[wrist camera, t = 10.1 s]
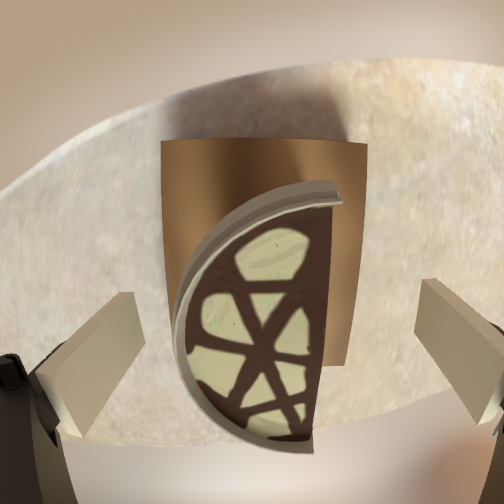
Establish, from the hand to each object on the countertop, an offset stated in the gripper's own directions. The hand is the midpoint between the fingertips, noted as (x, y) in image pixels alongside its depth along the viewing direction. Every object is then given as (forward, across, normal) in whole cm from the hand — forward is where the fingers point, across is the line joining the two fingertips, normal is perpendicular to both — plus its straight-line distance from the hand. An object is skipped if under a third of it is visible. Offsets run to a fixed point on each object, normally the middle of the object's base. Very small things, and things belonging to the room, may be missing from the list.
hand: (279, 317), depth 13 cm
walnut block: (+12, +1, 0) cm, 12 cm away
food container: (+7, +1, 0) cm, 7 cm away
